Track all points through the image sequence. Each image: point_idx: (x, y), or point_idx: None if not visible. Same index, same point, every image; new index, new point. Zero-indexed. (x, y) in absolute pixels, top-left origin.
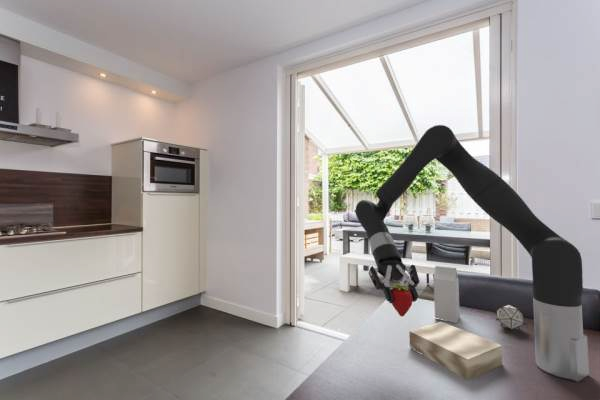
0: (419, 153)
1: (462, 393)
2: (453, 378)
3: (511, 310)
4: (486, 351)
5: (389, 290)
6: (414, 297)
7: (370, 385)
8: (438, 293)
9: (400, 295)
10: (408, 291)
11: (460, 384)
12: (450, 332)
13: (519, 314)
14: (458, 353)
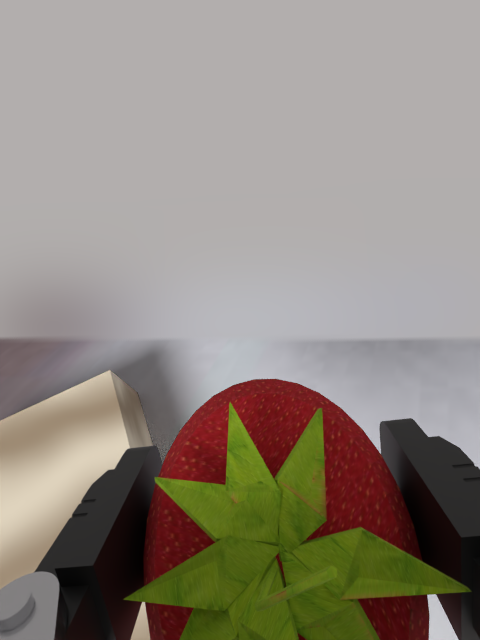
0: None
1: (190, 342)
2: (172, 403)
3: None
4: (8, 417)
5: (456, 488)
6: (152, 456)
7: (438, 377)
8: None
9: (313, 400)
10: (184, 473)
11: (171, 376)
12: None
13: None
14: (110, 408)
